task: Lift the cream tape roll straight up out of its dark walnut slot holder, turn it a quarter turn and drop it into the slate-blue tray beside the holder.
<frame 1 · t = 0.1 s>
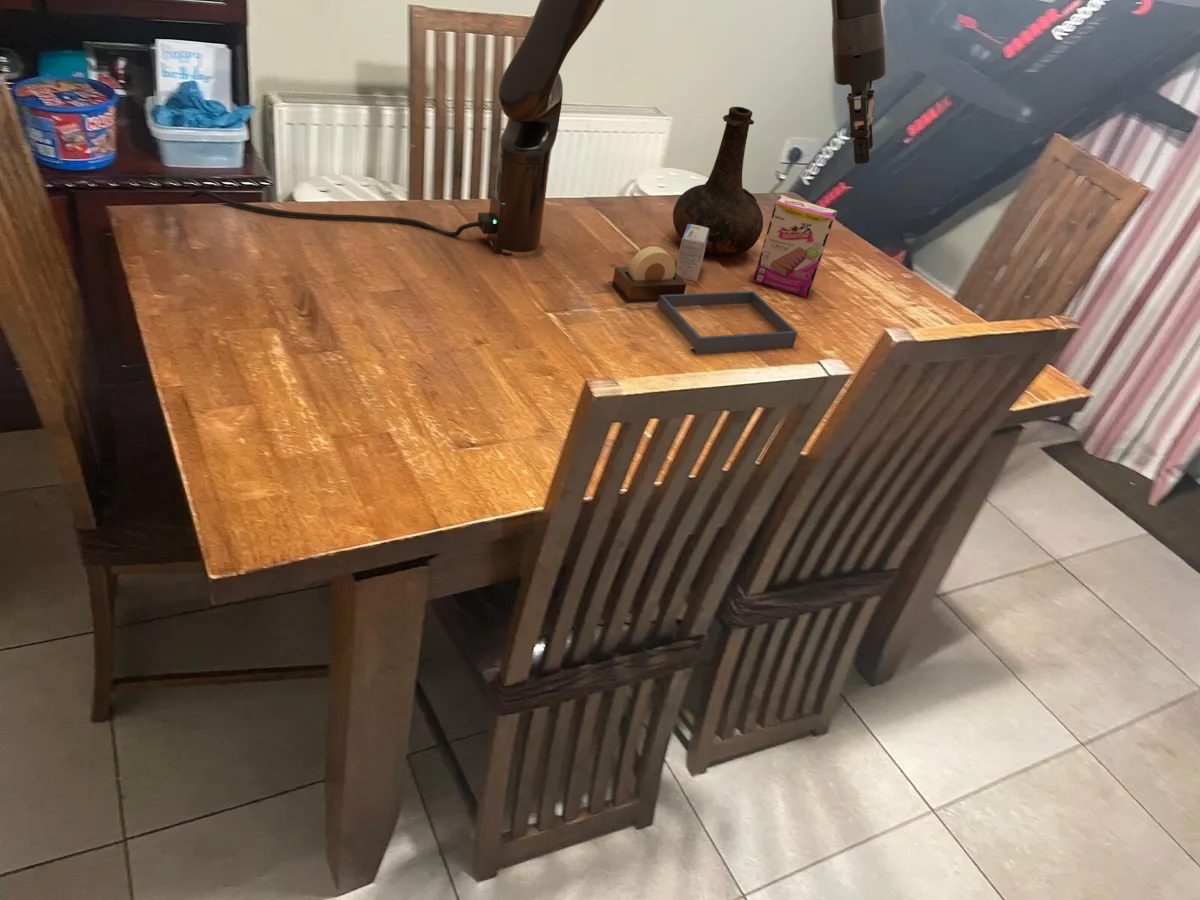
hand: (864, 155, 146), 31 cm above the table, tool tilted 20°, fingers open, 8 cm apart
glass bottle: (710, 250, 187), on the table
holder: (646, 295, 165), on the table
medicine box: (686, 276, 175), on the table
tape roll: (647, 290, 164), point 1 cm above the table, touching holder
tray: (723, 328, 159), on the table
candy bar box: (781, 287, 178), on the table
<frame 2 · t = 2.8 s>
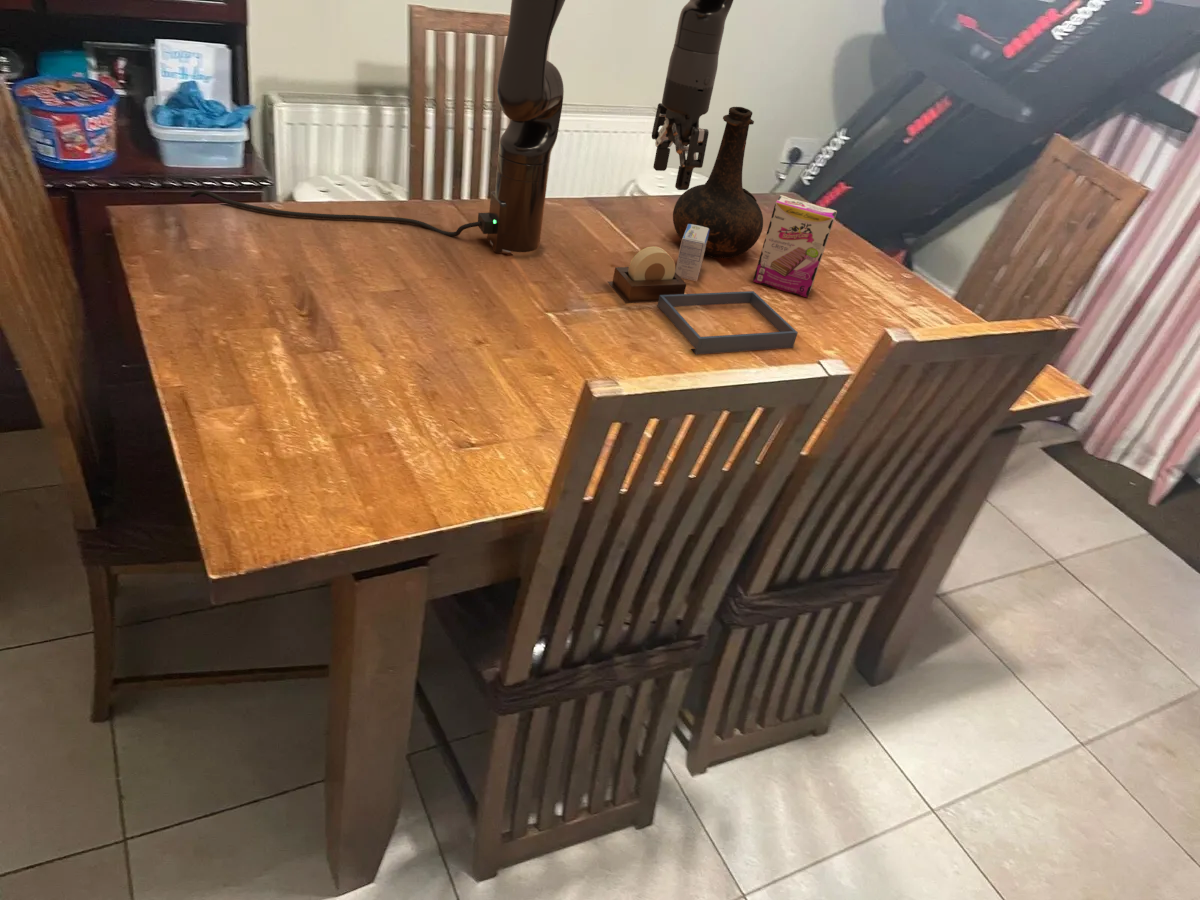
hand: (670, 179, 153), 21 cm above the table, tool pointing down, fingers open, 8 cm apart
nothing on the table moved.
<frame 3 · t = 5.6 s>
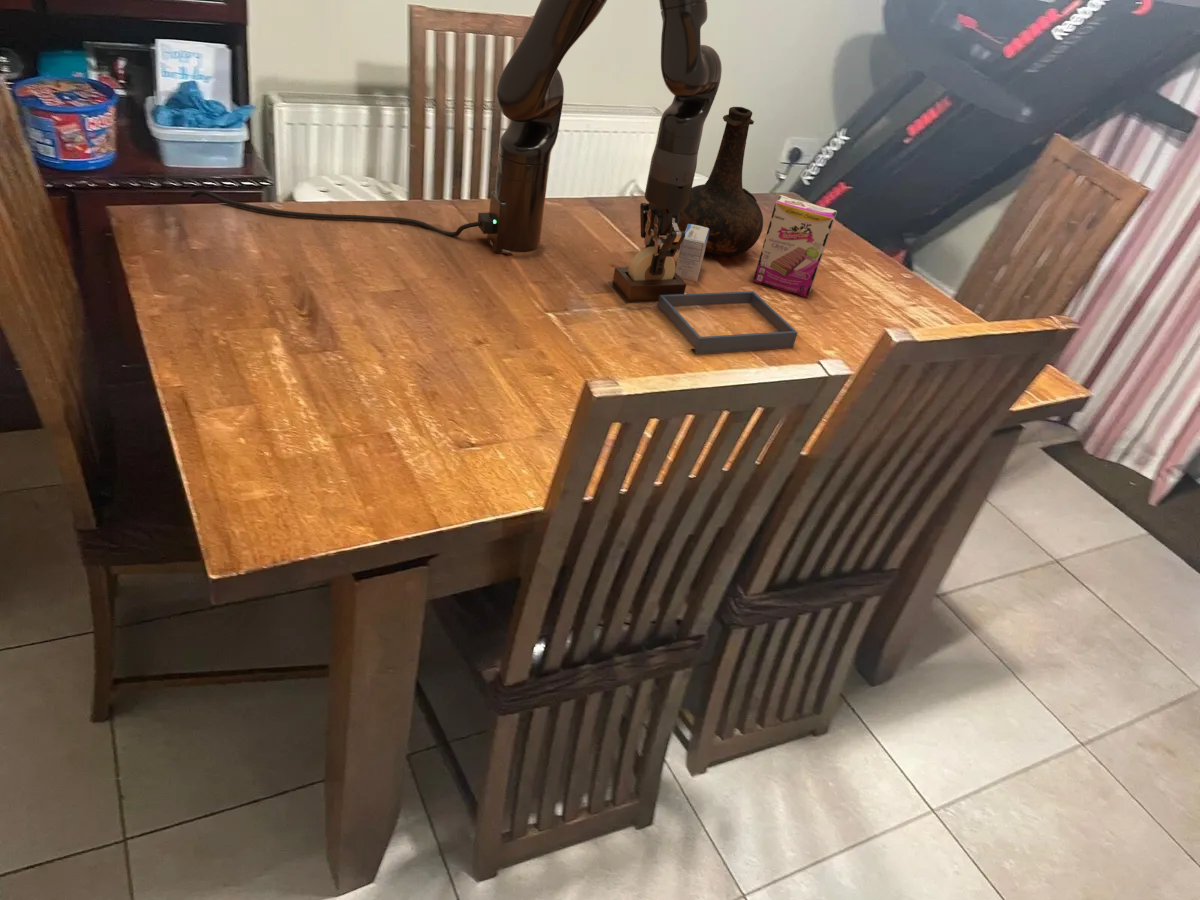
hand: (652, 269, 162), 5 cm above the table, tool pointing down, fingers closed on tape roll, 2 cm apart
tape roll: (647, 290, 164), point 1 cm above the table, touching gripper, holder
everything else where it was.
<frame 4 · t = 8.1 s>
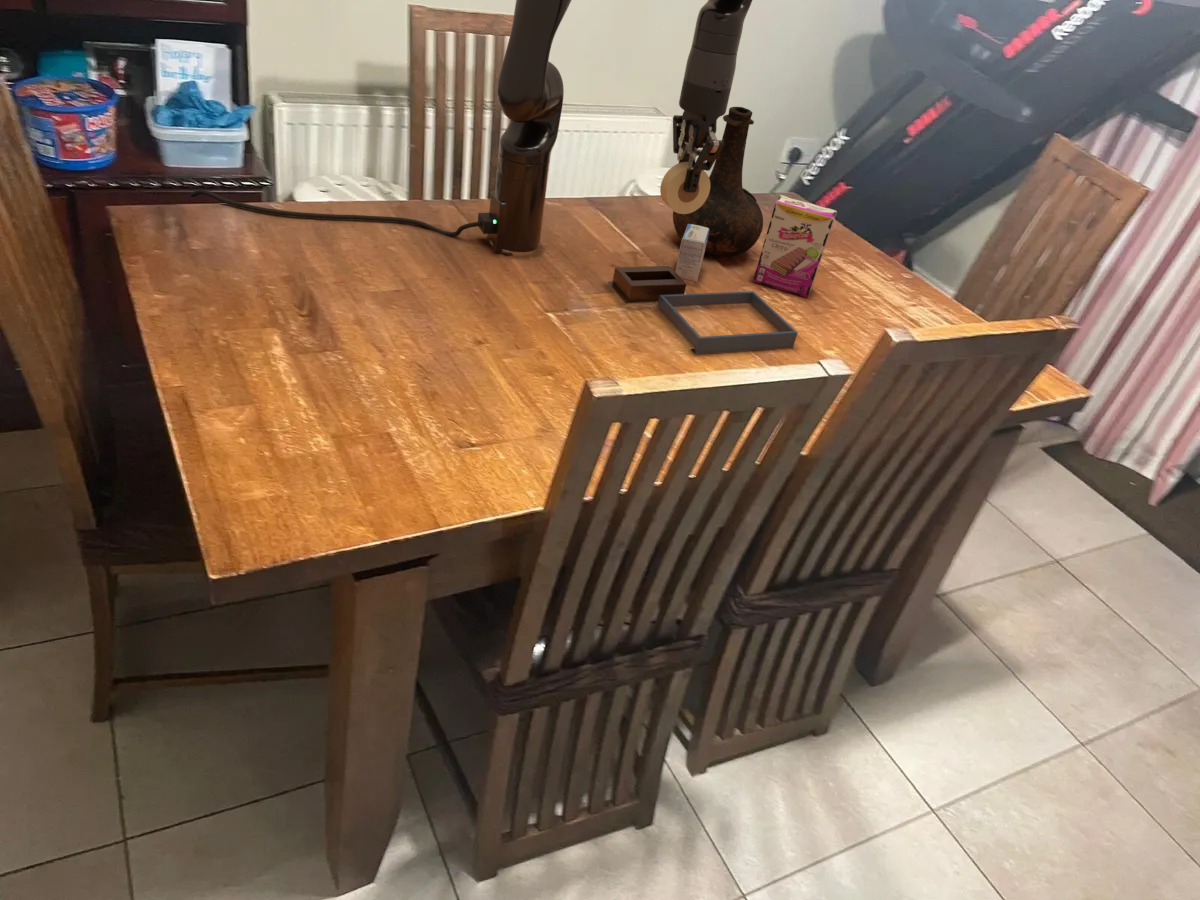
hand: (685, 187, 152), 21 cm above the table, tool pointing down, fingers closed on tape roll, 2 cm apart
tape roll: (680, 211, 154), point 17 cm above the table, touching gripper
everything else where it was.
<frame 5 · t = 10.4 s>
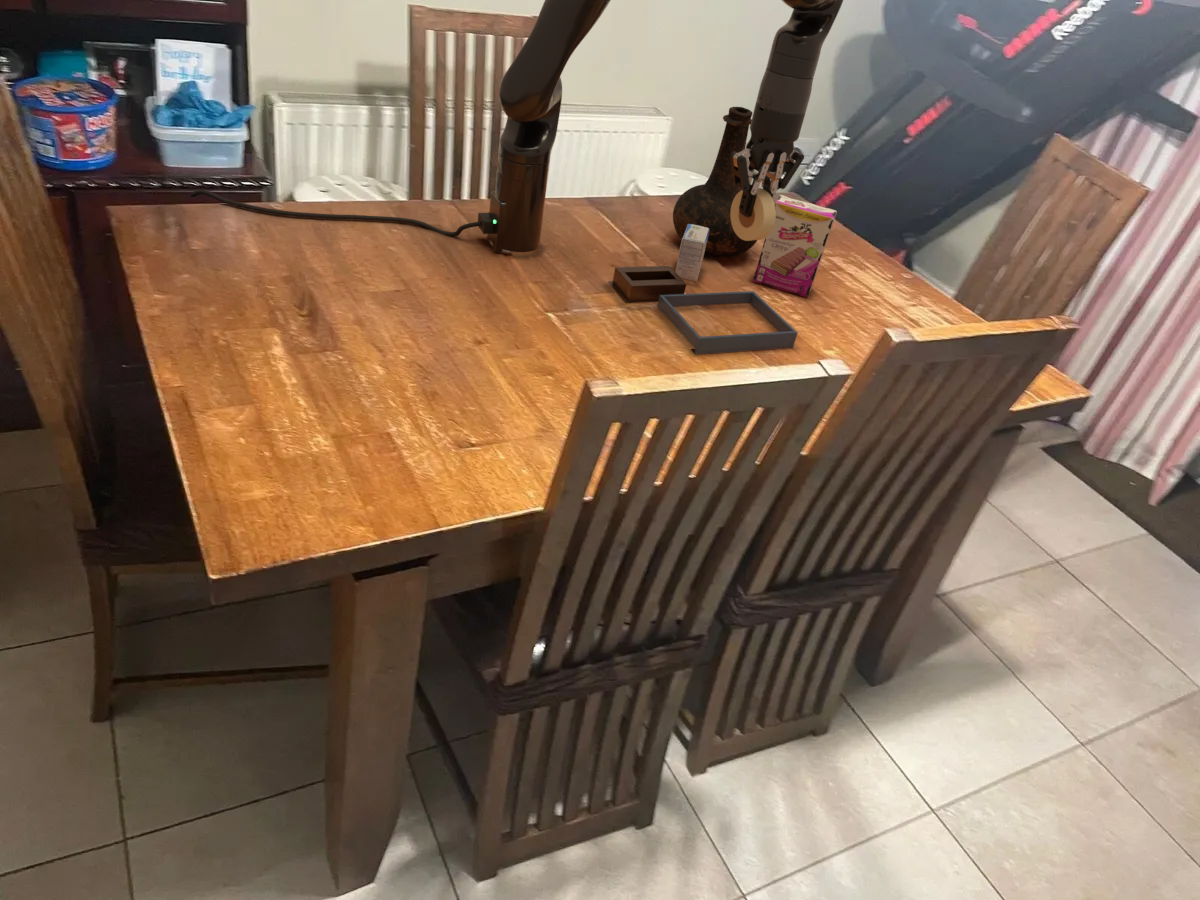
hand: (752, 213, 146), 21 cm above the table, tool pointing down, fingers closed on tape roll, 2 cm apart
tape roll: (746, 238, 149), point 17 cm above the table, touching gripper
everything else where it was.
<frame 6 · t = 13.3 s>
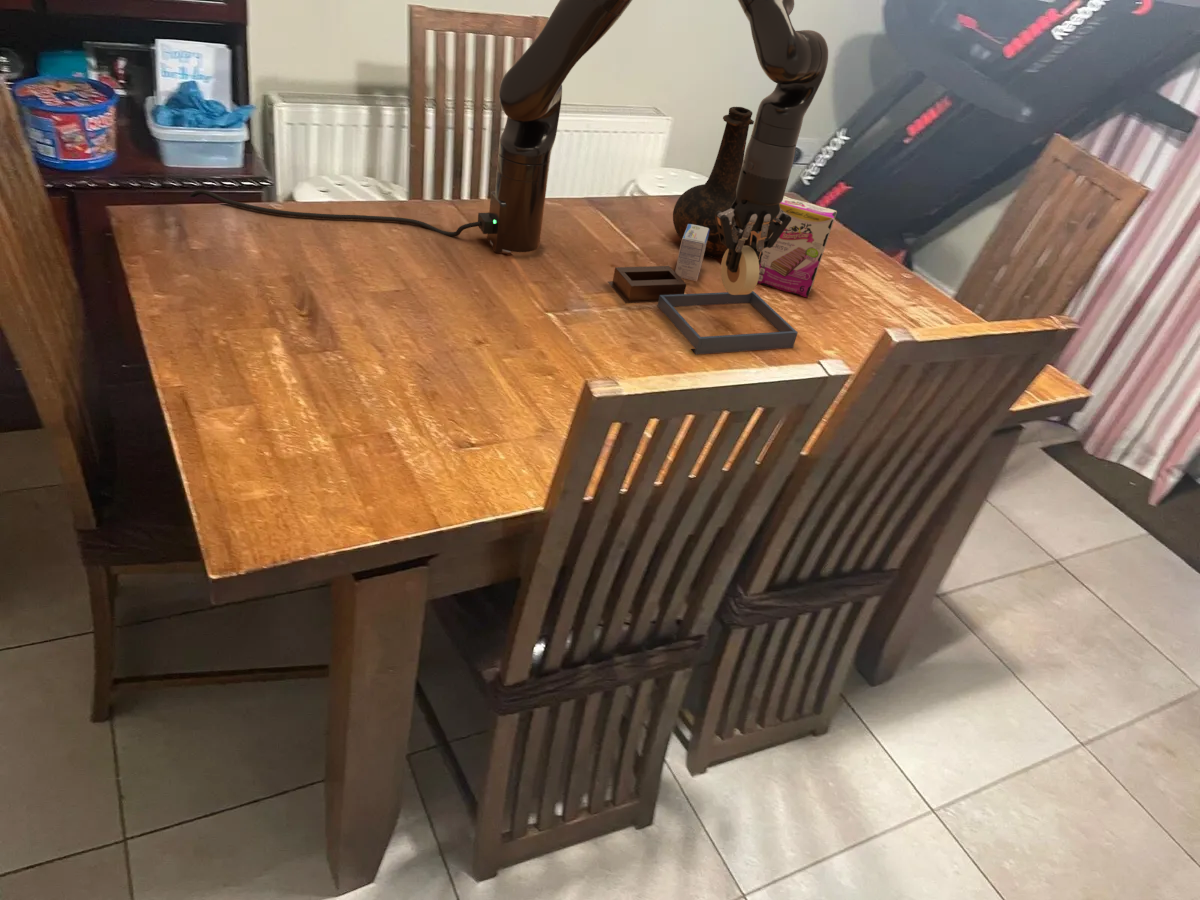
hand: (739, 269, 153), 11 cm above the table, tool pointing down, fingers closed on tape roll, 2 cm apart
tape roll: (734, 292, 155), point 7 cm above the table, touching gripper
everything else where it was.
when the fingers open (5 cm above the table, at t = 15.4 s): tape roll stays where it is, resting on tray.
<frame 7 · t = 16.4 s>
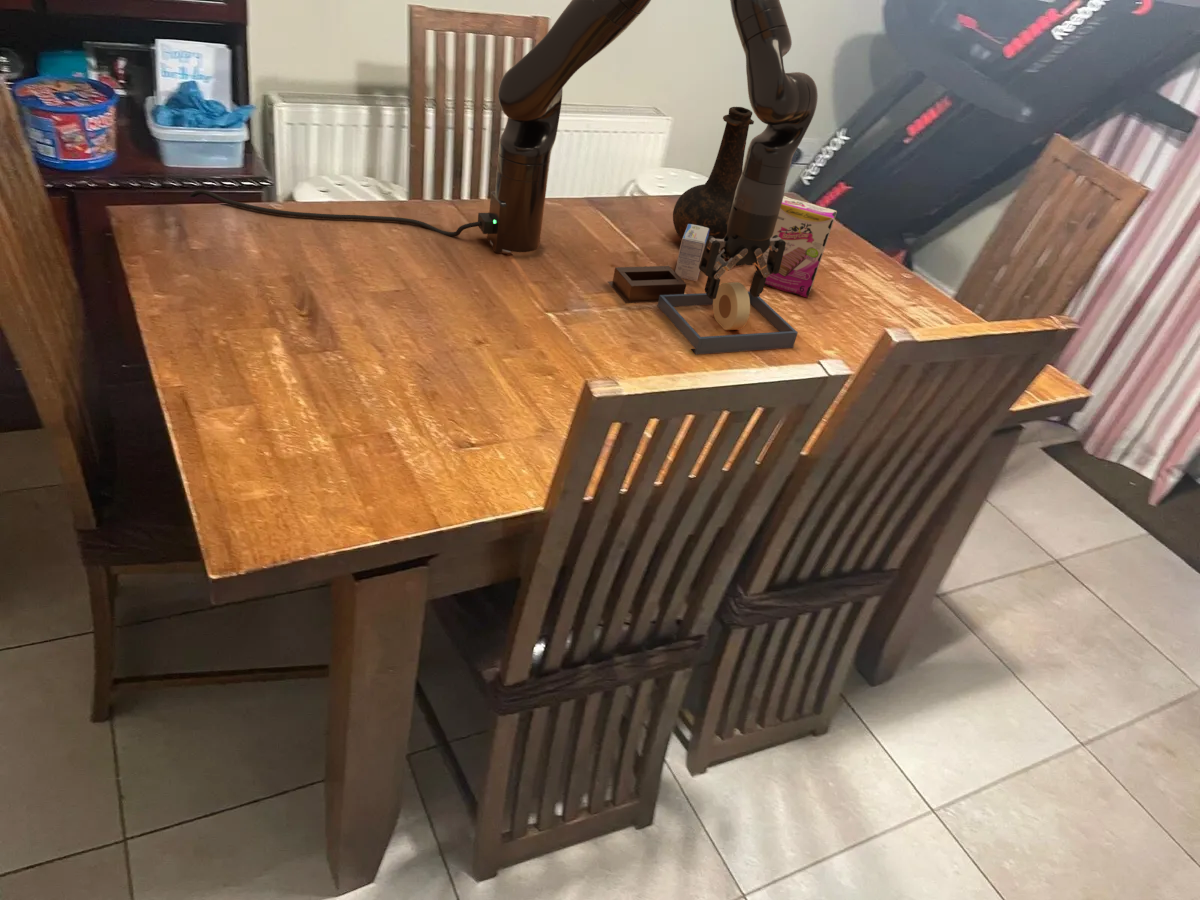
hand: (732, 296, 155), 6 cm above the table, tool pointing down, fingers open, 8 cm apart
tape roll: (725, 326, 159), point 1 cm above the table, touching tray
everything else where it was.
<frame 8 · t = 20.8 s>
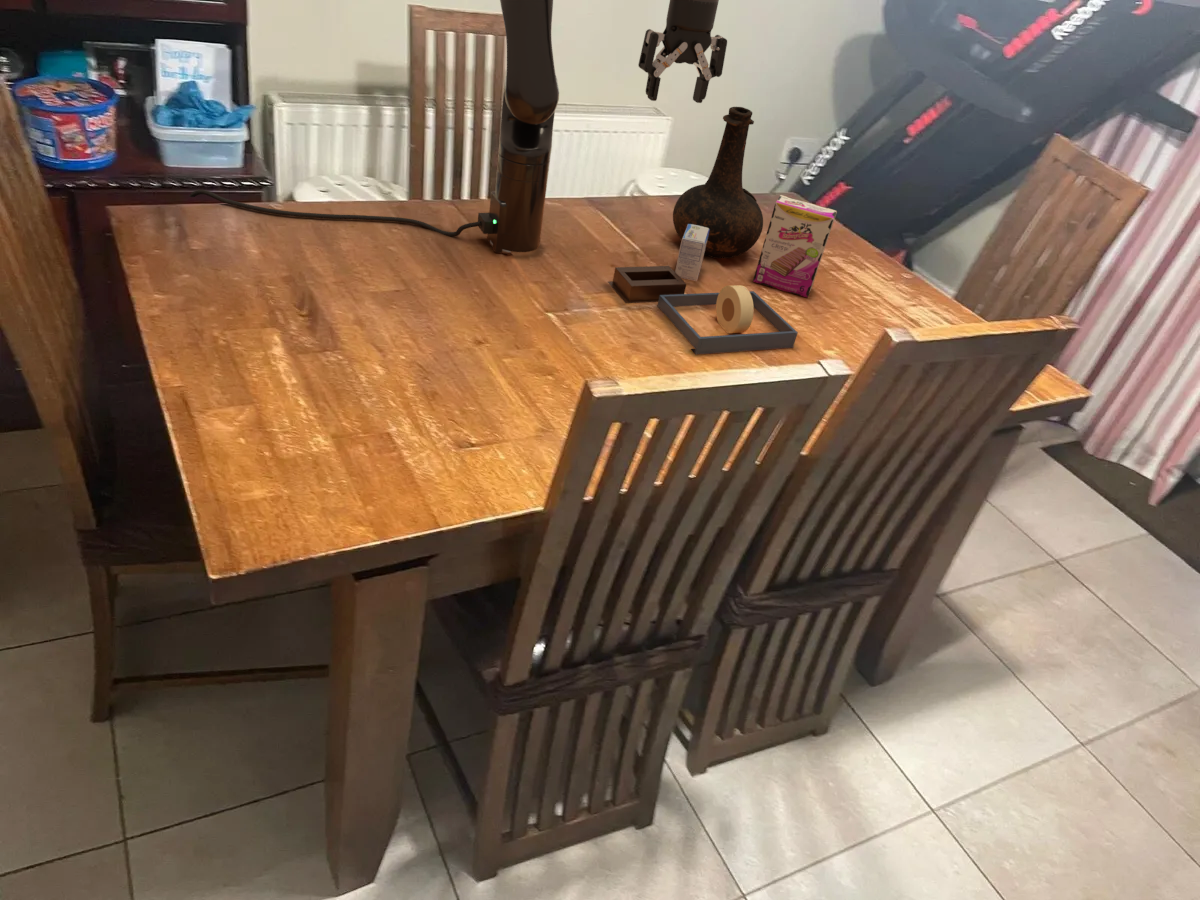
hand: (674, 100, 153), 32 cm above the table, tool pointing down, fingers open, 8 cm apart
tape roll: (725, 325, 159), point 1 cm above the table, tilted 20°, touching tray
everything else where it was.
at the end: tape roll moved 15.9 cm from its start; tape roll inside the target area in the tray (0.1 cm from its centre), point 0.7 cm above the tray's base; the gripper is holding nothing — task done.
